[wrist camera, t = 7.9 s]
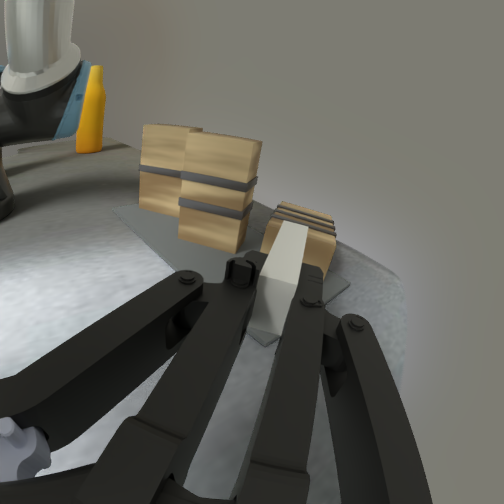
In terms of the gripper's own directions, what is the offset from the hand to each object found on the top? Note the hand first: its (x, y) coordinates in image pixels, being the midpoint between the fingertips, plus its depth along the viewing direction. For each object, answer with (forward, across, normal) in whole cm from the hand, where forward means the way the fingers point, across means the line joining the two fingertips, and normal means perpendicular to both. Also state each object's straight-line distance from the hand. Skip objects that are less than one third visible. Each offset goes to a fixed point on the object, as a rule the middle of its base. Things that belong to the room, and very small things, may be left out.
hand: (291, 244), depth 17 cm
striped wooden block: (+9, 0, -5) cm, 11 cm away
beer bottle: (+52, -70, -8) cm, 87 cm away
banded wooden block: (+18, -19, -8) cm, 27 cm away
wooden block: (+13, -9, -8) cm, 18 cm away
